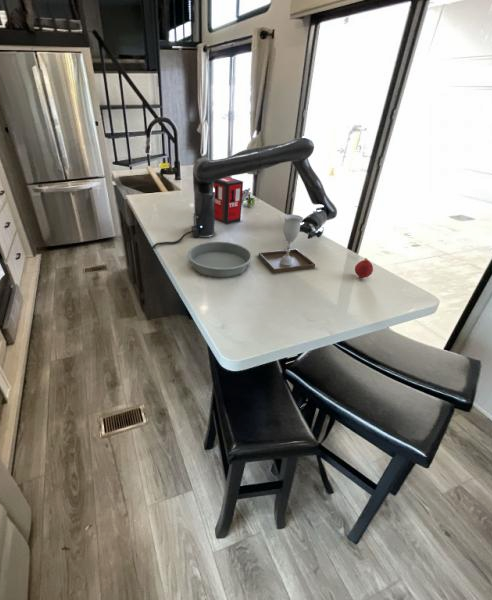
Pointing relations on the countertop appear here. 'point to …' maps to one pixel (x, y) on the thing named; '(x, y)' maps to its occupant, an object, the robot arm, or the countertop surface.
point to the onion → (364, 268)
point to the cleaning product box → (228, 200)
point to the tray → (275, 266)
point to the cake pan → (219, 258)
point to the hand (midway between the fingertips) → (298, 234)
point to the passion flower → (245, 197)
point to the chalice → (290, 234)
